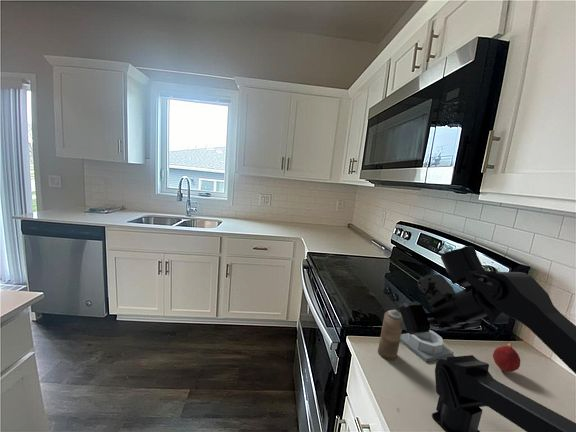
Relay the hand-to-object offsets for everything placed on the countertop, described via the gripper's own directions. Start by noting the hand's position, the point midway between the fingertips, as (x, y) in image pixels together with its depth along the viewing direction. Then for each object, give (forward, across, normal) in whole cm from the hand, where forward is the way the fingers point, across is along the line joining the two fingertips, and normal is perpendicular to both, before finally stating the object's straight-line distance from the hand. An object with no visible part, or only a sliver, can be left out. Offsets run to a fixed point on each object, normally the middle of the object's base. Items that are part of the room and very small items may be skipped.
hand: (416, 325), depth 67 cm
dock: (+16, -14, +3) cm, 21 cm away
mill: (+15, 0, +4) cm, 15 cm away
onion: (+7, -29, +12) cm, 32 cm away
